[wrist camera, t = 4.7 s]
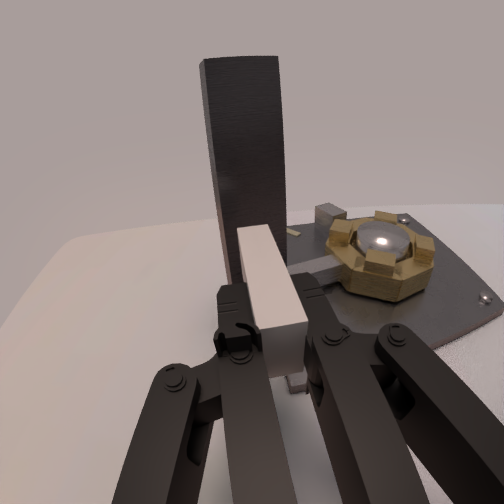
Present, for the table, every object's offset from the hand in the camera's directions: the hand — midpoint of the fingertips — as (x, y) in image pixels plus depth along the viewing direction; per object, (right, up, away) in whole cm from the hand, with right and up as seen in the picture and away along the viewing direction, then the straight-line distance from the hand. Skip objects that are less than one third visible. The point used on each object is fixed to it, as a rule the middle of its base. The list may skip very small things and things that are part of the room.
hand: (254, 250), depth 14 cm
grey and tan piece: (+8, -2, +9) cm, 12 cm away
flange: (+12, -2, +11) cm, 16 cm away
